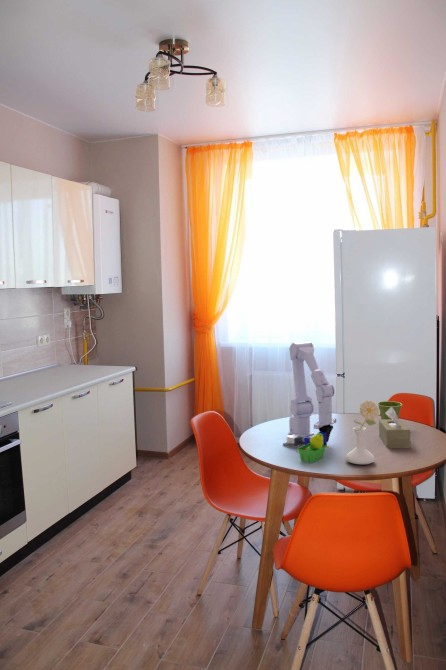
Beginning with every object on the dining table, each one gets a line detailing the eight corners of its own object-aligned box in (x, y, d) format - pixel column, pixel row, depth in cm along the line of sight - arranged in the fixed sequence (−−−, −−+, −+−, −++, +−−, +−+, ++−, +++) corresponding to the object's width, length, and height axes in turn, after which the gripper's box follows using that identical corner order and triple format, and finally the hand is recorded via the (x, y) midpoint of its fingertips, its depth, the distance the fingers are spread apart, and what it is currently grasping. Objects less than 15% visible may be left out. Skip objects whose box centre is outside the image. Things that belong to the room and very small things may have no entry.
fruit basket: (311, 453, 230) (310, 427, 229) (330, 457, 224) (329, 430, 223) (296, 461, 221) (296, 433, 220) (316, 465, 216) (315, 437, 215)
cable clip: (318, 444, 243) (317, 430, 242) (326, 445, 240) (326, 432, 239) (301, 450, 235) (301, 436, 234) (310, 452, 231) (309, 438, 231)
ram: (287, 445, 243) (287, 436, 242) (295, 442, 247) (295, 433, 246) (295, 447, 239) (295, 438, 239) (303, 444, 244) (303, 435, 243)
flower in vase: (345, 466, 213) (345, 403, 210) (344, 457, 224) (344, 397, 222) (380, 467, 210) (380, 403, 208) (377, 458, 221) (377, 397, 219)
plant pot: (372, 425, 273) (372, 402, 272) (390, 421, 278) (390, 400, 277) (388, 430, 262) (388, 407, 261) (407, 427, 267) (407, 404, 266)
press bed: (278, 447, 240) (278, 445, 240) (299, 439, 251) (299, 437, 251) (309, 455, 228) (309, 452, 228) (330, 446, 239) (330, 444, 239)
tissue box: (378, 436, 254) (378, 402, 252) (400, 436, 253) (400, 402, 251) (387, 448, 235) (386, 412, 234) (410, 448, 234) (410, 412, 233)
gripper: (323, 415, 233) (323, 447, 234) (342, 409, 243) (342, 439, 245) (309, 413, 238) (310, 444, 239) (328, 407, 248) (329, 436, 250)
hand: (325, 441), depth 242 cm, fingers closed
